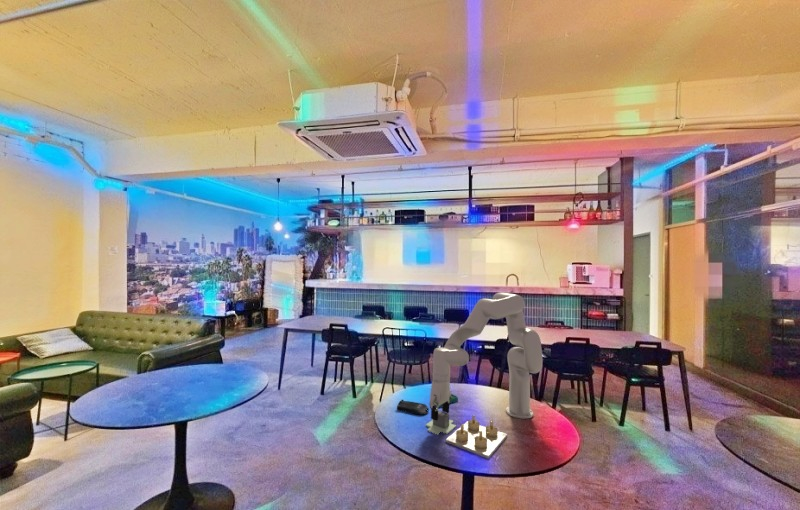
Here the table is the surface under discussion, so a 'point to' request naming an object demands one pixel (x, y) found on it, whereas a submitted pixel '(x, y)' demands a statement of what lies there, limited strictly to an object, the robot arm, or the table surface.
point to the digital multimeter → (452, 399)
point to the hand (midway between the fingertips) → (440, 415)
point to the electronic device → (412, 407)
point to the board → (437, 429)
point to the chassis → (477, 438)
